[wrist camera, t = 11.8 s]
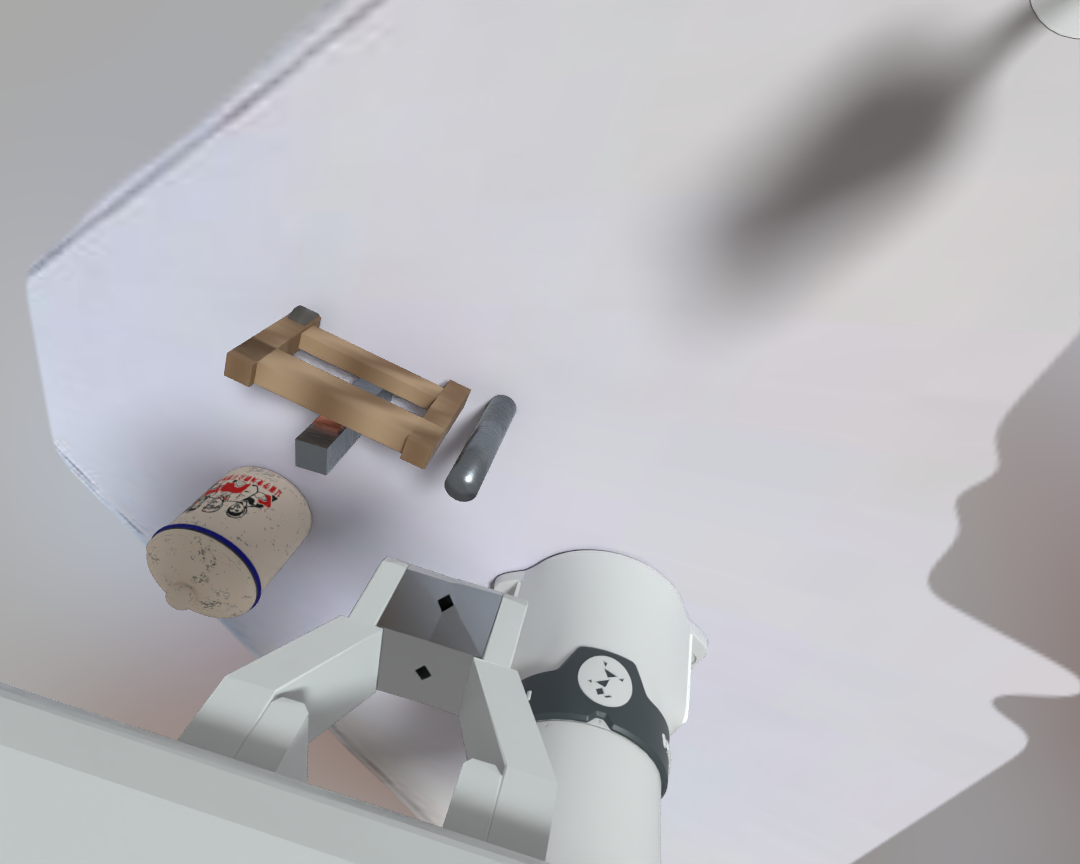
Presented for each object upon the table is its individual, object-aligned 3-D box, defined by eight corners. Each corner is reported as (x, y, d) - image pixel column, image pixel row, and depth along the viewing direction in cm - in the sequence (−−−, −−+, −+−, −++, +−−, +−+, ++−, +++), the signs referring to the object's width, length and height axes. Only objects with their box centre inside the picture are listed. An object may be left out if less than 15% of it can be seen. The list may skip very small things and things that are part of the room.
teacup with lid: (296, 461, 50) (204, 556, 41) (328, 546, 55) (252, 650, 45) (175, 461, 53) (62, 550, 43) (215, 542, 58) (120, 639, 48)
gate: (475, 381, 43) (434, 443, 36) (463, 410, 44) (421, 475, 37) (304, 299, 42) (228, 346, 35) (297, 330, 43) (222, 381, 36)
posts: (510, 434, 45) (471, 519, 37) (366, 392, 46) (295, 465, 37) (518, 399, 43) (480, 479, 35) (369, 355, 44) (295, 423, 35)
